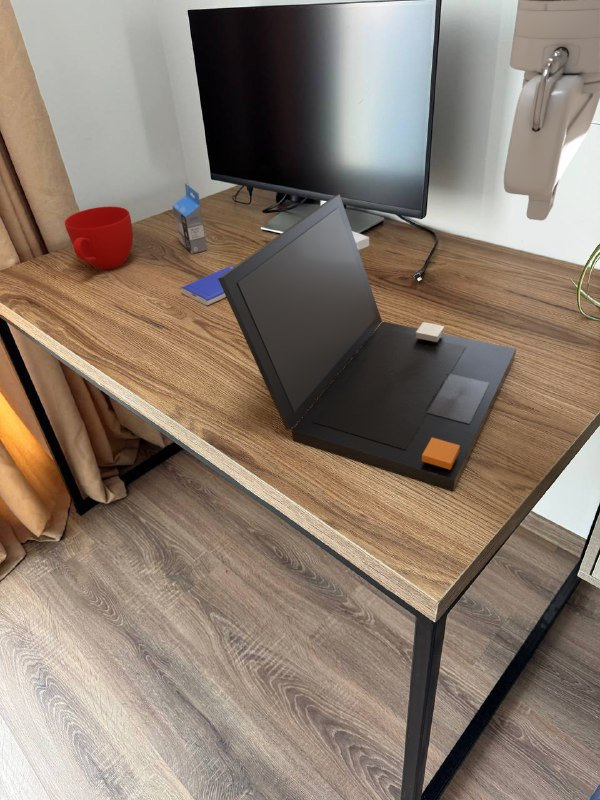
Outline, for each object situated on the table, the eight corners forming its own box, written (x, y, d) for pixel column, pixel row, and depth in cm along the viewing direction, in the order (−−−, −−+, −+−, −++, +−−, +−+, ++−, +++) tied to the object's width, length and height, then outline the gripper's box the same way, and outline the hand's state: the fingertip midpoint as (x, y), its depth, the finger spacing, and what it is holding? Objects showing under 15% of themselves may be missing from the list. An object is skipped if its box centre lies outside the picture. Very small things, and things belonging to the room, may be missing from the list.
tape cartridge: (178, 241, 132) (167, 186, 125) (194, 237, 134) (185, 182, 126) (191, 254, 126) (181, 197, 119) (208, 250, 127) (199, 193, 120)
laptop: (514, 358, 87) (516, 348, 86) (453, 491, 66) (454, 479, 65) (382, 331, 96) (382, 320, 95) (292, 440, 75) (291, 429, 74)
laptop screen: (340, 193, 86) (335, 195, 86) (223, 277, 65) (217, 278, 66) (382, 321, 95) (377, 322, 95) (291, 429, 74) (286, 429, 75)
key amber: (459, 451, 68) (460, 445, 68) (450, 470, 66) (451, 463, 65) (431, 443, 70) (431, 437, 69) (421, 461, 67) (422, 454, 67)
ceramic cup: (57, 284, 118) (41, 236, 112) (95, 250, 131) (82, 206, 125) (117, 285, 116) (103, 237, 110) (149, 251, 129) (139, 206, 123)
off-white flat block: (444, 331, 90) (444, 326, 89) (436, 342, 88) (437, 336, 87) (422, 327, 91) (423, 321, 91) (415, 337, 89) (415, 332, 88)
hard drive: (231, 264, 117) (180, 286, 110) (258, 274, 112) (206, 298, 105) (232, 271, 118) (181, 293, 111) (259, 282, 113) (208, 306, 106)
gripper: (597, 61, 37) (554, 263, 46) (628, 25, 51) (591, 185, 60) (497, 60, 40) (473, 252, 48) (552, 26, 54) (527, 179, 62)
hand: (538, 214), depth 54 cm, fingers closed
